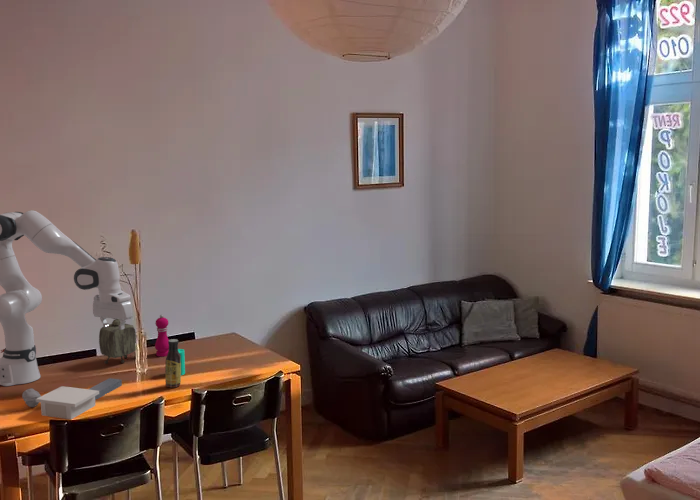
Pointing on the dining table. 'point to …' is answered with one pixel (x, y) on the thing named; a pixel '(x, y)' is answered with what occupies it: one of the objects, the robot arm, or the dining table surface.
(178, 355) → the sauce bottle
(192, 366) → the dining table surface
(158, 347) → the pepper mill
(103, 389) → the blue-grey bar
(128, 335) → the tabletop clock
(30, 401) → the frog figurine
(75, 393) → the box with flat lid
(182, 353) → the candle
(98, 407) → the dining table surface
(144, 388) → the dining table surface
